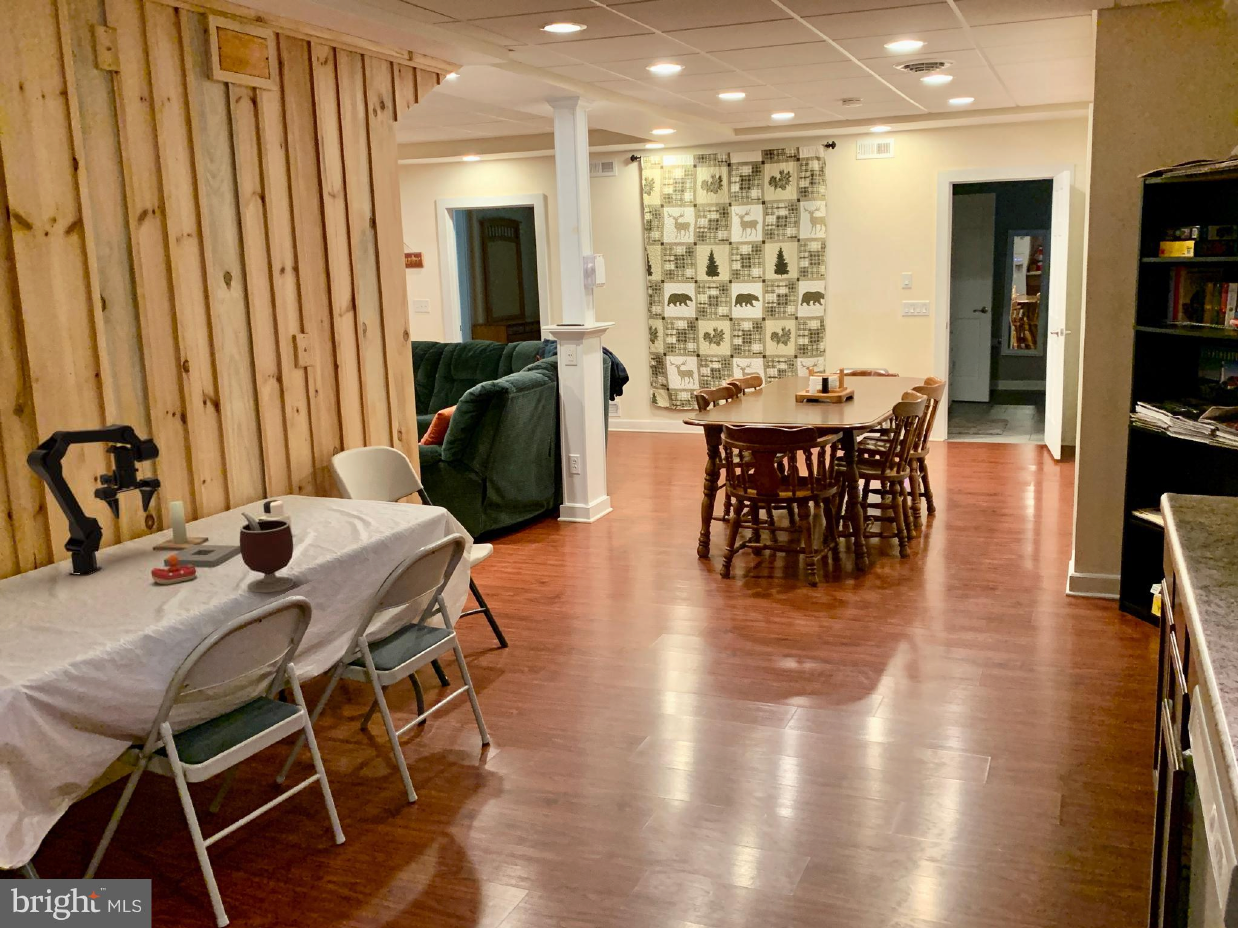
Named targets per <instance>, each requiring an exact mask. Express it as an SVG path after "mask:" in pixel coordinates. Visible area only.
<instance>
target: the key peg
mask: <svg viewBox="0 0 1238 928" xmlns="http://www.w3.org/2000/svg"><path fill="white" fill-rule="evenodd" d="M168 504H169V515H170V521H171V523H170V524H171V530H172V538H173V540H174V544H183V543H186V542H187V537H188V535H187V526H186V518H185V509H184V502H183V501H182V500H176V501H172V502H169V503H168Z"/></svg>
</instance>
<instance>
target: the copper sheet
mask: <svg viewBox="0 0 1238 928" xmlns="http://www.w3.org/2000/svg"><path fill="white" fill-rule="evenodd" d="M208 541H209V537H208V536H207V537H200V536H198V537H197V536H196V537H195V536H193V537H191V536H190V537H189V536H187V542H186V543H183V544H174V540H173V537H171V538H169V539H167V540H164V541H163V542H161V543H158V544H157V545H154V546H152V551H164V550H166V551H168V550H169V551H171V552H172V551H176V552H180V551H182V550H184V549H186V548H188V547H190V546H192V545H204V543H206V542H208ZM166 551H165V552H166Z"/></svg>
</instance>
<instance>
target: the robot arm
mask: <svg viewBox="0 0 1238 928" xmlns="http://www.w3.org/2000/svg"><path fill="white" fill-rule="evenodd" d="M103 442H104V443H112V444H110V446H109V447H108V448H107V449H106V450H105V453H106V454H112V457H113V462H114V463H113V464H114V465H113V466H114V469H112V474H109V473H102V474H100V475H99V482H100V485H101V487H97V488H95V490H94V492H93V496H94V499H99V501H103V502H105V503H106V505H107V507H109V509H110V510H111V513H112V514H113V517H114V518H115V520H119V519H120V500H119V497H117V496H118V494H122V493H126V492H130V491H134V490H135V491H136V490H138V491H139V493H140V496H141V504H142V505H141V508H142V510H143V511H142V512H143V513H147V512H148V510H149V507H150V504H151V502H152V499H153V497H154V495H155V493H156V492H158V489H159V488H162V483H161V482H162V481H161V480H160V479H159V478H157V477H152V476H150V477H144V478H139V480H138V476H137V473H138V472H139V471H140V470H139V468H138V467H137V466H136V463H137V464H138V463H139V464H140V463H144V462H147V461H148V462H149V461H153V460H157V459H158V458H159V456H160V449H159V448H158V446H157V443H155V442H154V438H152V437H146V438H143V439H141V438H140V436H138V435H137V433H136V432H135V429H134V428H133V427H132V426H131V425H130V424H129V425H128V424H116V423H115V424H109V425H106V426H103V427H101V428H97V429H96V428H94V429H78V430H75V429H74V430H55V432H53V433H52V434H51V436H50V437H48V438H47V439H46V440H44V441H43V442H42V443H40V444H38V446H37V447H36V448H35V449H33V450H31V452H29V453H28V455H27V458H26V464H27V466H28V467H29V468H30V469H31V471H32V472H33V473H34V474H35V475H36V476H37V477H39V478H40V479H42V480H43V481H44V482H45V484H46V485H47V487H48V489H49V490H50V492H51V494H52V496H53V497H54V499H55V501H56V503H57V504H58V506H59V508H60V510H61V511H62V513H63V514H64V516H65V518H66V520H67V521H68V532H69V534H70V535H69V538H68V539H67V541H66V542H65V543H64V546H63V547H64V549H65V551H66V552H68V553H71V554H70V555H71V557H70V558H71V564H72V571H73V573H80V574H89V573H91V572H93V571H95V572H97V571H99V570H101V569H103V568H102V566H98V563H97V556H96V553H97V552H99V551H100V546H101V541H102V539H103V535H104V534H103V533H104V532H103V530H104V528H103V527H101V525H100V523H99V520H98V519H97V517H92V516H87V515H86V514H85V512H84V511H83V509H82V507H81V505H80V504H79V502H78V500H77V498H76V496H75V494H74V493H73V491H72V490H71V488H70V486H69V484H68V482H67V480H66V479H65V477H64V475H63V468H64V467H63V463H62V460H63V458H65V456H66V455H67V451H68V450H69V449H68V448H69V447H70V446H71V445H74V444H75V445H77V444H89V443H103ZM116 444H121V445H118V446H117V445H116ZM100 568H101V569H100ZM98 569H99V570H98ZM96 570H97V571H96ZM72 571H70V572H72ZM93 573H94V572H93ZM91 574H92V573H91ZM89 575H90V574H89Z"/></svg>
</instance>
